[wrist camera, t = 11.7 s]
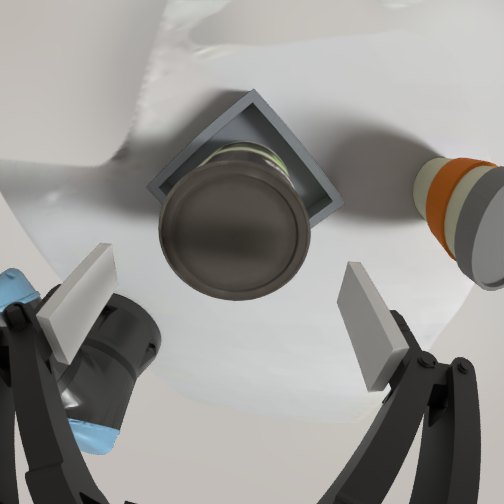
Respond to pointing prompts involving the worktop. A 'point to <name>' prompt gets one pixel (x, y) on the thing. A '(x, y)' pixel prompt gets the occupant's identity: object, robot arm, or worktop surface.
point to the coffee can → (235, 224)
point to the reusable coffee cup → (466, 214)
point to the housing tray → (268, 134)
